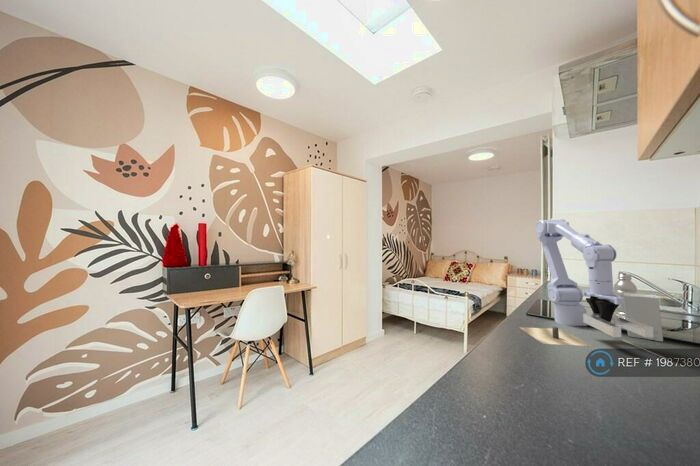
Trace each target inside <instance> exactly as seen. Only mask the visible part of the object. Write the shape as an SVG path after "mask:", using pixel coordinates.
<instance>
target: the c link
mask: <svg viewBox="0 0 700 466" xmlns="http://www.w3.org/2000/svg"><path fill="white" fill-rule="evenodd" d="M583 322H584V323H586V324H587V326H590V327H592V328H594V329H597V330H599V331H601V332H603V333H605V334H607V335H608V336H611V337H613V338H621V337H622V329H625V330H626V331H627V330H629V331H631V332H634V333H636V334H638V335H641V336H643V337H649V338H653V327H651V326H648V325H645V324H643V323H640V322H637V321H635V320H632V319H629V318H627V317H624V316H621V315H619V314H616V313H613V316H612V319H611V322H608V321H606V320H603V319H601V317H600V314H593V313H587V314H583Z"/></svg>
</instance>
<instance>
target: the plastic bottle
mask: <svg viewBox="0 0 700 466" xmlns="http://www.w3.org/2000/svg"><path fill="white" fill-rule="evenodd" d="M617 279H618V280H617V281H616V282H615V283H613V292H614V295H616V296H618V297H621V298H624V296H623V293H632V294H638V288H637V286H636V284H635V283H634V282H633V281H632V280H633V278H632V274H628V273H618V274H617ZM615 314H619V315H621V316H624V317H626V315H625V307H624V305H622V304H619V306H618V307H617V308H616V310H615Z"/></svg>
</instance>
